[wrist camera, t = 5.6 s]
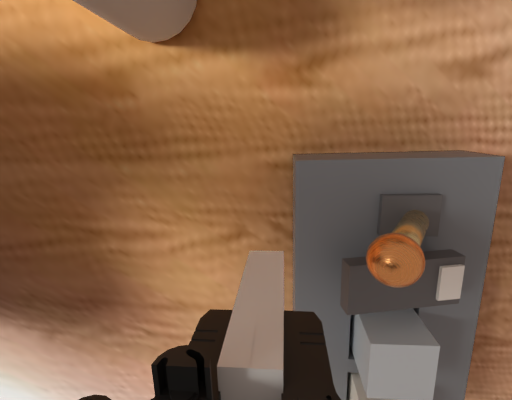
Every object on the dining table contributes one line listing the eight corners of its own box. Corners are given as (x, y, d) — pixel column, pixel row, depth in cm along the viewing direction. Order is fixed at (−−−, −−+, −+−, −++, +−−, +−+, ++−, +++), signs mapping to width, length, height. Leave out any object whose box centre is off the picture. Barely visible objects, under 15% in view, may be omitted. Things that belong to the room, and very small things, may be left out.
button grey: (348, 338, 27) (366, 397, 21) (350, 294, 26) (370, 343, 20) (399, 340, 26) (432, 400, 21) (403, 295, 25) (440, 346, 20)
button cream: (342, 386, 30) (357, 450, 24) (344, 348, 28) (360, 405, 23) (388, 388, 29) (415, 454, 23) (392, 350, 28) (421, 408, 22)
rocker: (340, 304, 21) (349, 317, 19) (342, 258, 20) (351, 268, 19) (445, 294, 22) (461, 305, 20) (452, 249, 21) (468, 257, 20)
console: (292, 381, 32) (295, 443, 26) (292, 154, 26) (296, 163, 20) (430, 387, 31) (468, 454, 24) (461, 150, 25) (522, 158, 19)
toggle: (394, 233, 22) (357, 288, 14) (397, 198, 21) (360, 237, 14) (436, 240, 20) (418, 305, 13) (441, 202, 19) (424, 249, 12)
